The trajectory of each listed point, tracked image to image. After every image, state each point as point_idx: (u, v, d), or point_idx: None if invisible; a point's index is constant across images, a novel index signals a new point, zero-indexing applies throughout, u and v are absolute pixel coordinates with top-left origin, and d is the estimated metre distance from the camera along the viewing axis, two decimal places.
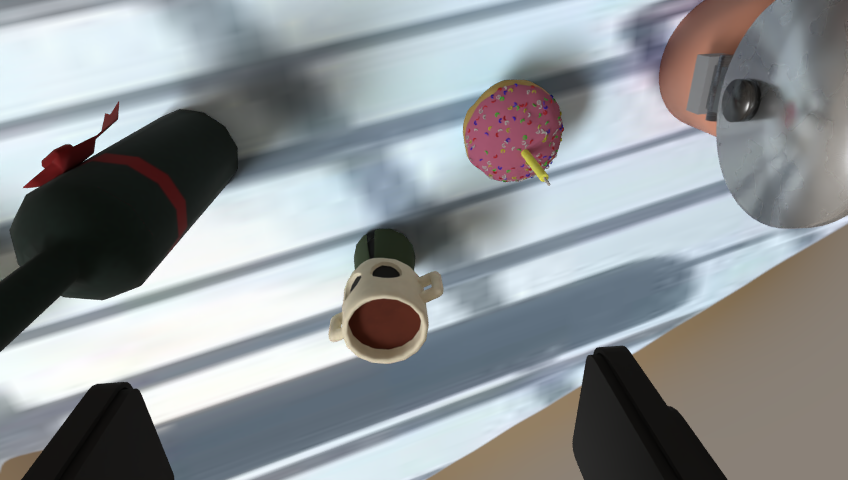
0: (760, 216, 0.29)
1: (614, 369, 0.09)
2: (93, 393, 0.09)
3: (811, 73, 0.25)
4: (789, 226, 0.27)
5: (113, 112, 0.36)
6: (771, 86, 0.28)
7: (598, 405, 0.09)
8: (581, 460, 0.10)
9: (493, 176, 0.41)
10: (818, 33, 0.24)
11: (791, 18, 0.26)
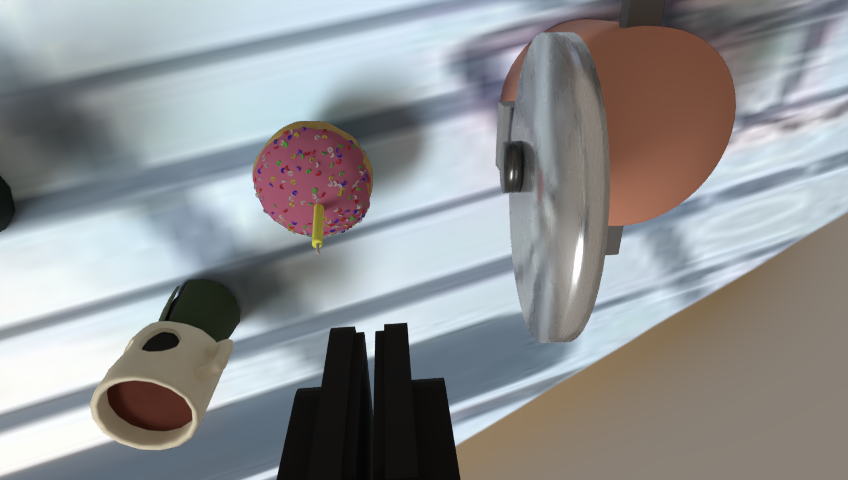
0: (525, 313, 0.23)
1: (384, 342, 0.10)
2: (336, 334, 0.10)
3: (542, 150, 0.19)
4: (535, 337, 0.21)
5: None
6: (527, 156, 0.22)
7: None
8: None
9: (295, 231, 0.35)
10: (544, 98, 0.18)
11: (534, 75, 0.20)
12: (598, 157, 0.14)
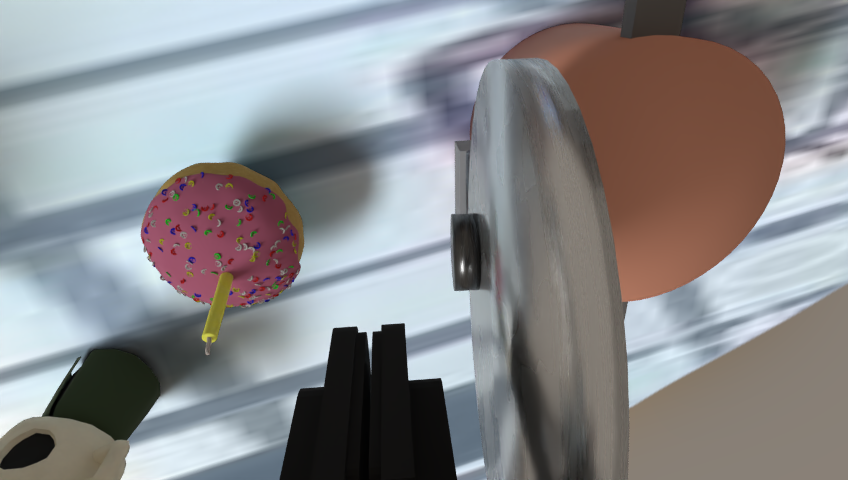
0: (488, 479, 0.15)
1: (381, 343, 0.10)
2: (339, 334, 0.10)
3: (499, 262, 0.11)
4: None
5: None
6: (484, 249, 0.14)
7: None
8: None
9: (204, 301, 0.27)
10: (500, 177, 0.10)
11: (487, 126, 0.12)
12: (602, 355, 0.07)
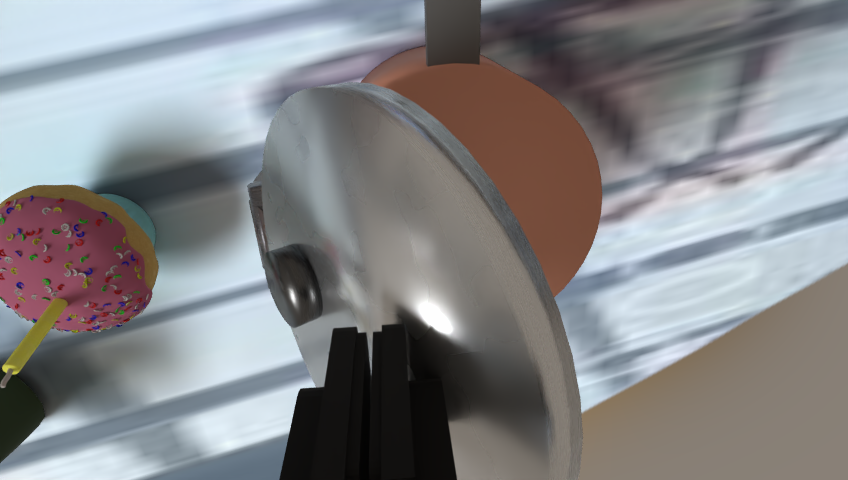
0: None
1: (381, 343, 0.10)
2: (338, 334, 0.10)
3: (373, 277, 0.11)
4: None
5: None
6: (326, 273, 0.14)
7: None
8: None
9: (51, 326, 0.27)
10: (358, 197, 0.11)
11: (310, 153, 0.12)
12: (544, 310, 0.08)
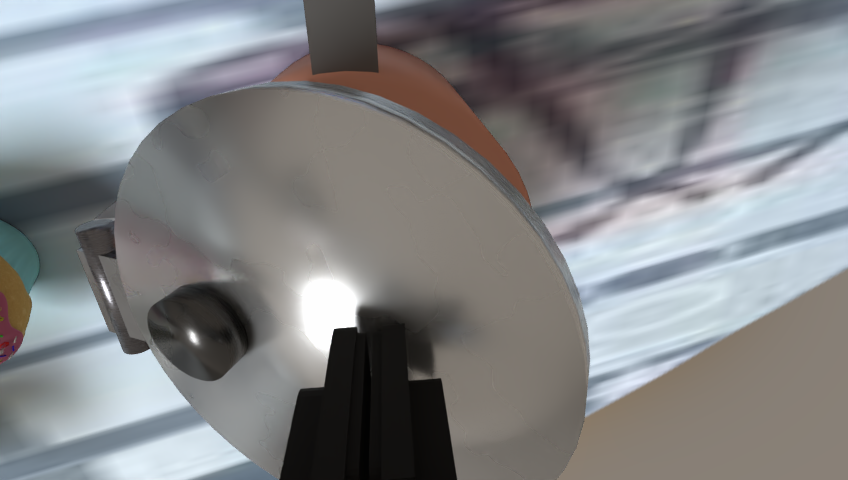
0: None
1: (381, 343, 0.10)
2: (338, 334, 0.10)
3: (347, 286, 0.11)
4: None
5: None
6: (257, 304, 0.12)
7: None
8: None
9: None
10: (323, 205, 0.10)
11: (230, 169, 0.10)
12: (561, 262, 0.09)
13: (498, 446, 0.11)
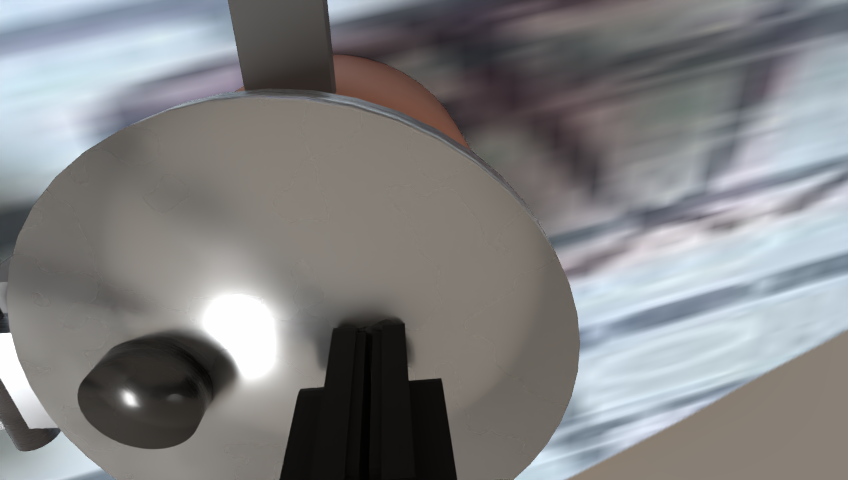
0: None
1: (382, 343, 0.10)
2: (338, 334, 0.10)
3: (340, 299, 0.10)
4: None
5: None
6: (226, 343, 0.11)
7: None
8: None
9: None
10: (311, 218, 0.09)
11: (190, 194, 0.09)
12: (545, 234, 0.10)
13: (500, 418, 0.12)
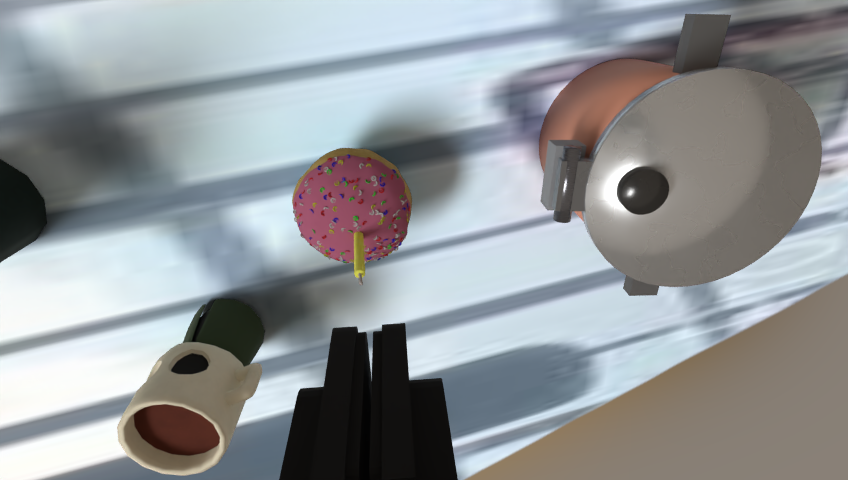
0: (684, 281, 0.30)
1: (382, 343, 0.10)
2: (338, 334, 0.10)
3: (731, 150, 0.26)
4: (725, 275, 0.30)
5: None
6: (677, 169, 0.27)
7: None
8: None
9: (330, 256, 0.35)
10: (734, 115, 0.25)
11: (695, 103, 0.25)
12: None
13: (774, 214, 0.28)
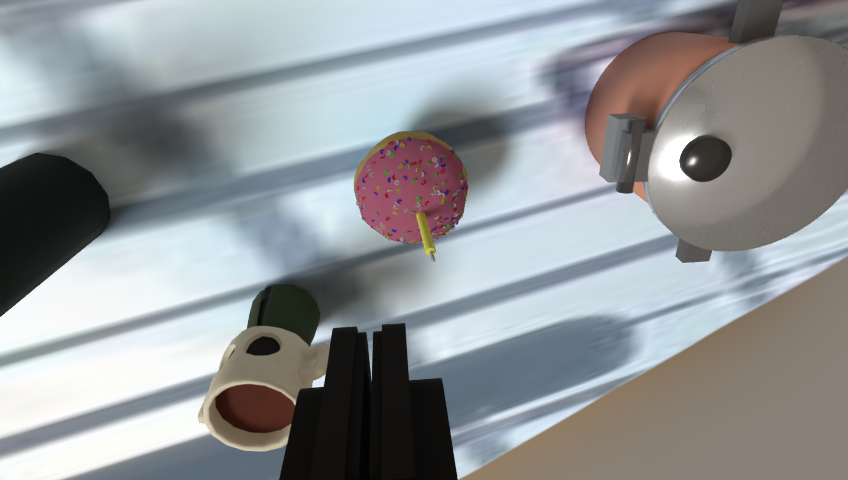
0: (742, 245, 0.31)
1: (382, 343, 0.10)
2: (338, 334, 0.10)
3: (791, 116, 0.27)
4: (781, 237, 0.31)
5: None
6: (738, 137, 0.28)
7: None
8: None
9: (391, 238, 0.36)
10: (795, 81, 0.26)
11: (757, 71, 0.26)
12: None
13: (830, 176, 0.29)
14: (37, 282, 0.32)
